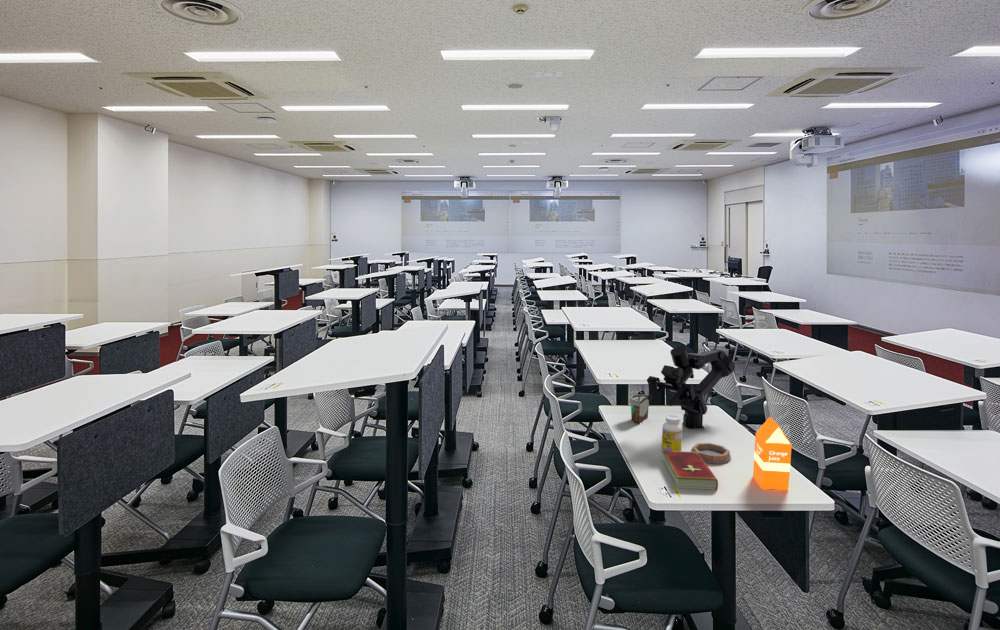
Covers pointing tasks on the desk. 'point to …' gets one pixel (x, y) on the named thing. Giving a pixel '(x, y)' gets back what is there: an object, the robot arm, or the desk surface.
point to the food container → (639, 407)
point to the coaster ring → (712, 453)
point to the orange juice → (772, 457)
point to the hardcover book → (689, 470)
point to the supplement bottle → (672, 434)
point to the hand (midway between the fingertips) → (658, 401)
